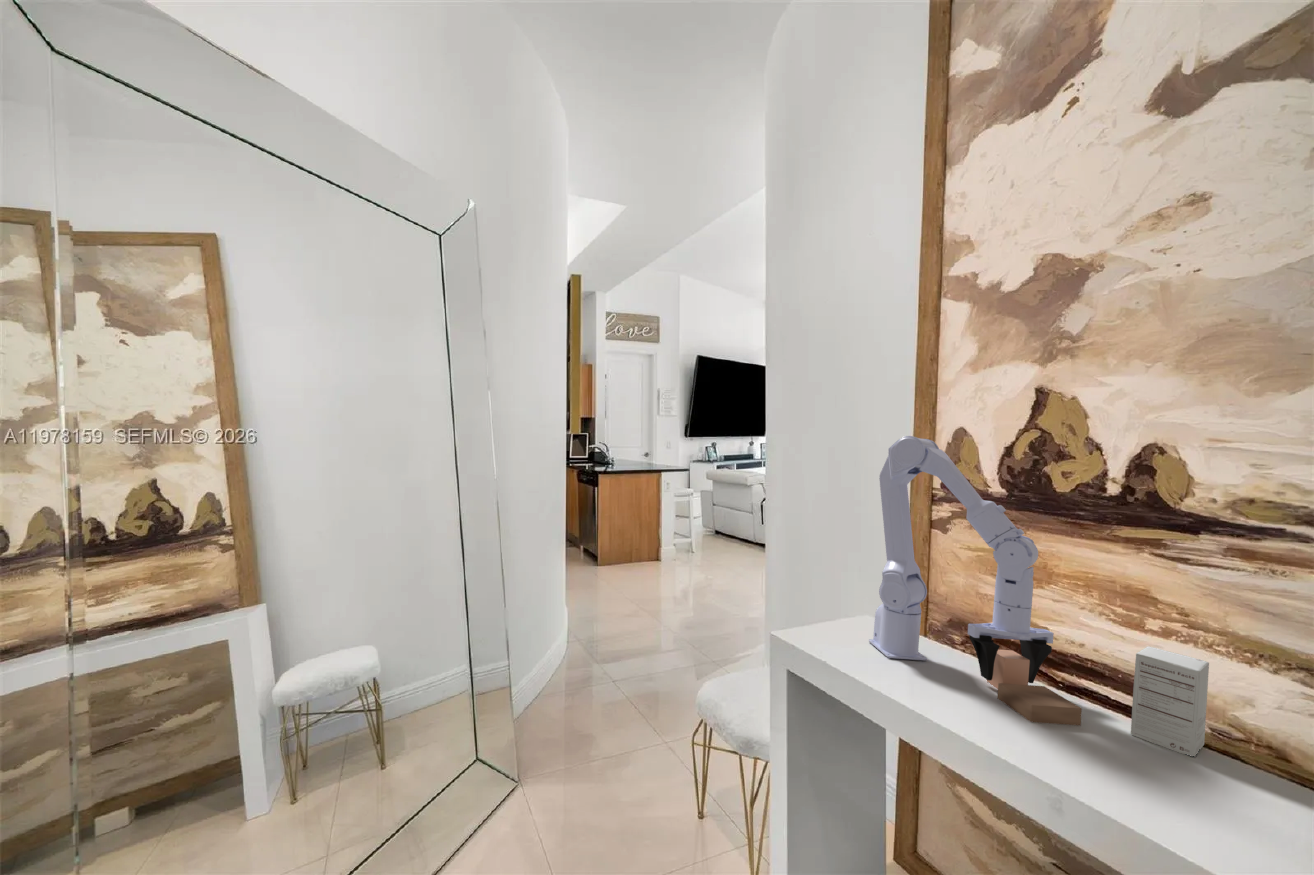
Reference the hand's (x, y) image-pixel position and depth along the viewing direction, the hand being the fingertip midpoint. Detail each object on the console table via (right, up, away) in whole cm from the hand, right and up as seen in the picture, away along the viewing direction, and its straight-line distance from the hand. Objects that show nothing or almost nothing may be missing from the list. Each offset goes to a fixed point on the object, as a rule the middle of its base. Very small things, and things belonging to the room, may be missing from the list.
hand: (1006, 679), depth 99 cm
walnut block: (-1, -2, -9) cm, 9 cm away
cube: (0, -2, 0) cm, 2 cm away
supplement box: (+14, -3, -15) cm, 21 cm away
